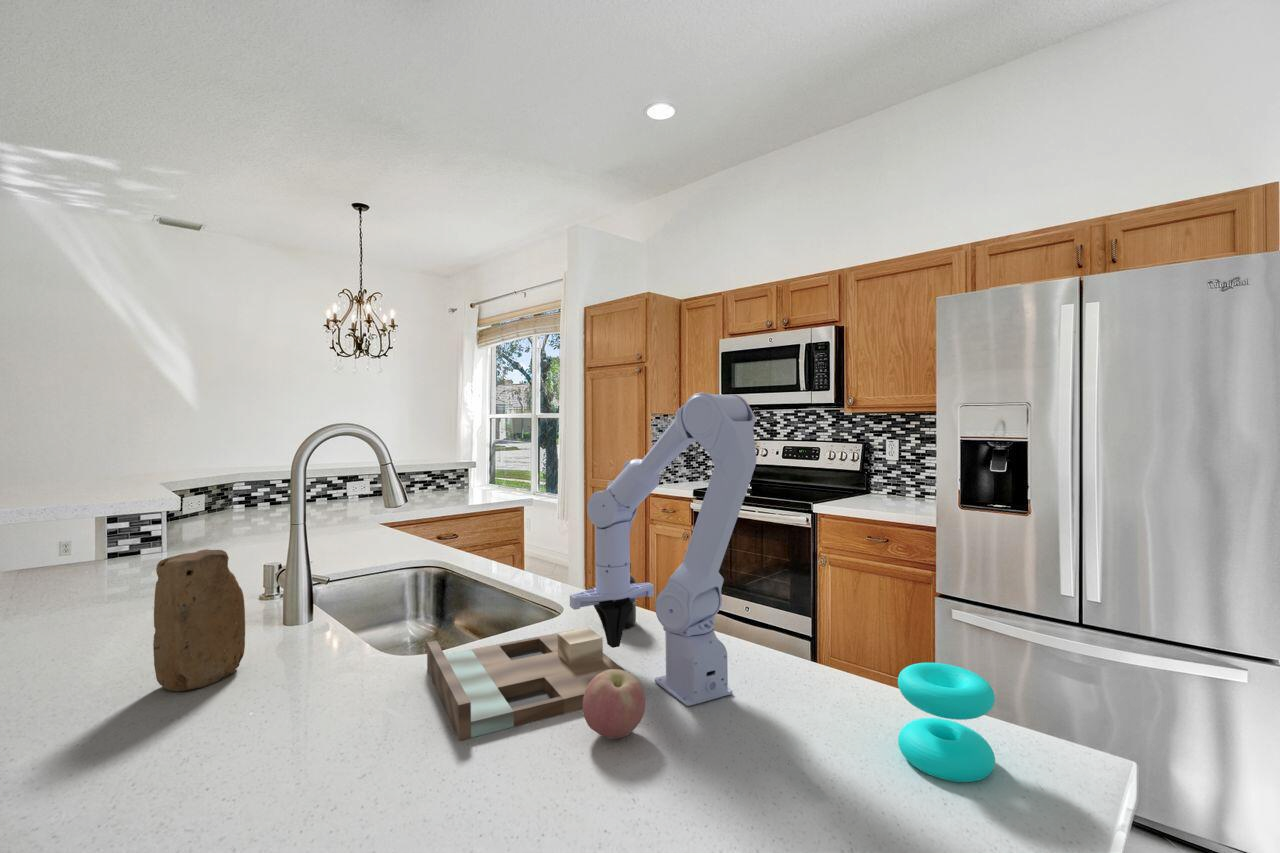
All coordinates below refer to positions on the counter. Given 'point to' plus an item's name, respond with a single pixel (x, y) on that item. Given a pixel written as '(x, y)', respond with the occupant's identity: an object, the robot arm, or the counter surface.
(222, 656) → the block
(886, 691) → the counter surface
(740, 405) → the robot arm
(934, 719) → the donuts
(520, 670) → the board
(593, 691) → the apple
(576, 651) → the beech block
